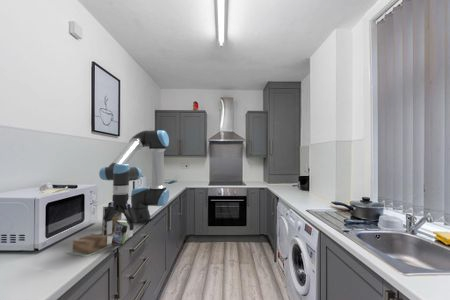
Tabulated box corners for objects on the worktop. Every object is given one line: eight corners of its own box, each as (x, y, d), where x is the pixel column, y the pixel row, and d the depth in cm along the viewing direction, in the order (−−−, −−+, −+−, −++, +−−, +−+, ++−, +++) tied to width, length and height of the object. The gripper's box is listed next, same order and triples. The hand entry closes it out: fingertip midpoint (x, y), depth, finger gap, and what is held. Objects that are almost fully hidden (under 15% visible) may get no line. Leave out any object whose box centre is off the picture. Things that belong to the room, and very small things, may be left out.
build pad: (92, 242, 114) (92, 241, 114) (113, 246, 109) (113, 245, 109) (65, 253, 100) (65, 252, 100) (87, 258, 96) (87, 256, 96)
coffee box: (103, 237, 121) (104, 208, 122) (101, 234, 126) (102, 206, 126) (121, 234, 127) (122, 206, 127) (118, 231, 132) (119, 204, 132)
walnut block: (92, 243, 111) (92, 233, 111) (106, 246, 108) (107, 235, 108) (72, 251, 102) (73, 240, 102) (88, 254, 98) (88, 243, 99)
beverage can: (109, 244, 111) (110, 220, 112) (124, 240, 116) (125, 218, 117) (114, 248, 107) (114, 223, 107) (129, 244, 112) (129, 220, 112)
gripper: (96, 193, 113) (94, 234, 112) (134, 195, 105) (133, 240, 104) (108, 191, 120) (107, 230, 119) (145, 193, 112) (144, 235, 111)
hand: (119, 235), depth 111 cm, fingers open, 13 cm apart
